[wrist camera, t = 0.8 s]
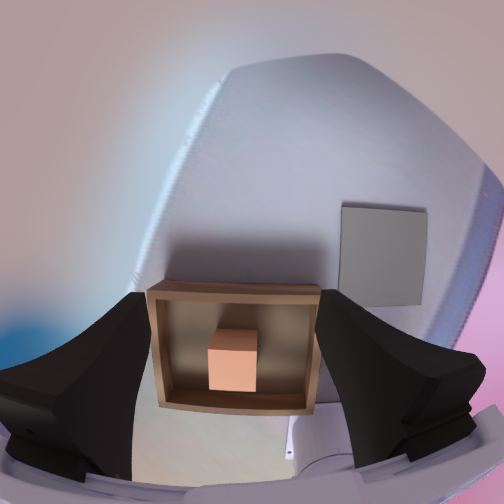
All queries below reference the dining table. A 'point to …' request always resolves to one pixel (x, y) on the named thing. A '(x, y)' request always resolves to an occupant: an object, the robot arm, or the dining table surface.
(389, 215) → the slate mat
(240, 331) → the terracotta block
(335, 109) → the dining table surface
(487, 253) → the dining table surface
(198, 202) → the dining table surface
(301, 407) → the walnut box
